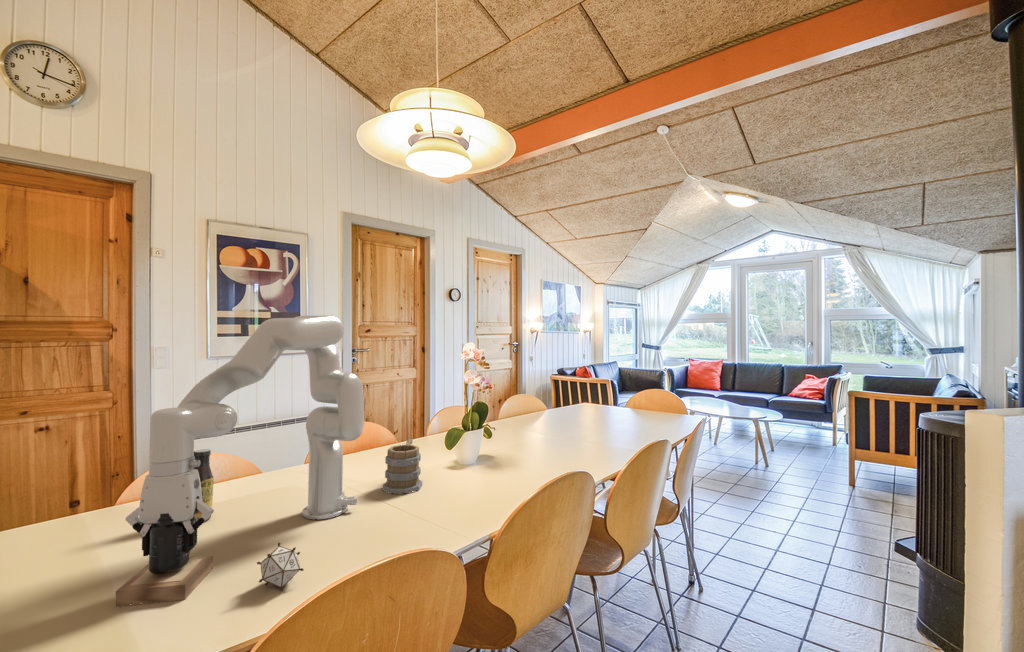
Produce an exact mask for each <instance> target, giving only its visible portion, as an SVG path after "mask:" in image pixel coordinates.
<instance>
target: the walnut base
mask: <svg viewBox="0 0 1024 652" xmlns="http://www.w3.org/2000/svg"><path fill="white" fill-rule="evenodd" d="M213 569H214V555H205V556H204V555H203V556H191V557H190V556H189V562H188V563H187V564H186V565H185V566H184V567H182V568H180V569H178V570H176V571H173V572H170V573H165V574H152V573H151V572H150V571H149V563H148V564H147V565H145V566H144V567H143V568H142V569H140V571H138V572H137V573H136V574H134V575H133V576H132V577H130V579H129V580H127V581H126V582H125V583H123V585H121V586H119V588H117V589H116V590H115V606H118V607H122V606H121V605H127V606H131V605H130V604H137V605H141V604H140V603H147V604H155V603H154V602H157V603H166V601H167V602H176V600H177V601H185V600H186V599H188V597H189V596H190V595H191V594H192V592H193V591H194V590H195V589H196V588H197V587H198V586H199V585H200V584H201V583H202V581H203V580H204V579H206V577H207V576H208V574H210V572H211V571H212V570H213ZM198 584H199V585H198Z"/></svg>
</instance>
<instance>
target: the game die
mask: <svg viewBox="0 0 1024 652" xmlns="http://www.w3.org/2000/svg"><path fill="white" fill-rule="evenodd" d="M296 550H297V549H296V546H295V547H292V549H290V548H288V547H285V546H281V542H278V543H277V547H276V548H275V549H274V550H273V551H272V552H271V553H267V555H266V557H265V558H264V559H263V560H262V561H257V562H256V564H257V565H260V571H261V578H260V579H259V581H258V583H261V582H263V581H264V582H265V584H264V586H266V587H267V586H268V585H269V584H270V585H272V586H276V587H278V588H280V592H281V593H283V591H284V586H285V585H286V584H287V583H288V582H289V581H290V580H291V579H293V577H294V576H295V575H297V573H299V572H303V571H305V569H304V568H301V565H300V561H299V557H298V556H299V555H300V553H301V551H298V552H296Z"/></svg>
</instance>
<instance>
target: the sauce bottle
mask: <svg viewBox="0 0 1024 652" xmlns="http://www.w3.org/2000/svg"><path fill="white" fill-rule="evenodd" d="M211 452H212V451H211V449H210V448H209V449H208V448H206V449H205V448H204V449H203V448H202V449H197V450H194V456H195V460H200V466H199V467H194V468H193V469H197V470H198V473H199V477H200V482H201V489H202V502H204V503H205V504H206V505H208V506H209V507H211V508H212V509H213V495H214V479H215V478H214V476H213V472H212V469H211V465H210V459H211V457H210V456H211V454H212V453H211ZM195 516H196V518H197V520H198V519H199V518H200V517H201V516H202V513H201V512H200V513H198V514H195ZM211 518H212V514H211V515H210V517H209V518H208V519H207V520H206V521H205V522H207V521H209V520H210V519H211Z"/></svg>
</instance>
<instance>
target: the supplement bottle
mask: <svg viewBox="0 0 1024 652" xmlns="http://www.w3.org/2000/svg"><path fill="white" fill-rule="evenodd" d="M172 521H174V520H173V519H172V518H171V516H169V513H166V514H160V518H159V520H157V522H159V523H158V524H154V525H153V526H152V527H151V529H150V533H149V555H148V564H149V571H150V572H151V573H152V574H165V573H170V572H173V571H176V570H178V569H180V568H182V567H184V566H185V565H186V564H187V563H188V562H189V557H190V551H189V552H188V553H185V552H184V536H185V534H186V533H187V530H186V528H185V526H184V524H183V523H182V522H172Z"/></svg>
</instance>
